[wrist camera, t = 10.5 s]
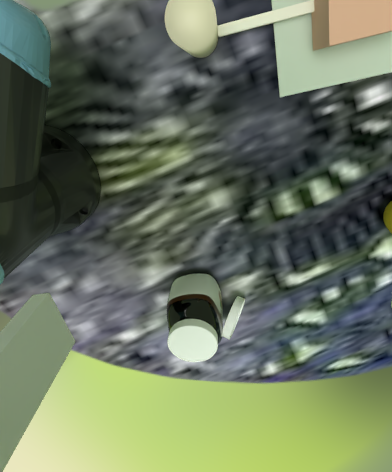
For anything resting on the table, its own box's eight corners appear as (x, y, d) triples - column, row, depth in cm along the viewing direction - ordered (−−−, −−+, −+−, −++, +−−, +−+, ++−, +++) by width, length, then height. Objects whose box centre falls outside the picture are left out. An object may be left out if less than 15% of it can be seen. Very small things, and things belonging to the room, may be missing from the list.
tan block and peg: (190, 80, 36) (177, 82, 26) (174, -1, 33) (151, -39, 22) (390, 31, 33) (471, 9, 22) (395, -66, 29) (495, -149, 18)
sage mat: (279, 97, 37) (279, 97, 37) (264, -79, 30) (264, -80, 30) (405, 68, 34) (406, 68, 34) (421, -129, 27) (422, -131, 27)
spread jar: (168, 270, 50) (154, 320, 40) (236, 258, 48) (240, 308, 37) (187, 324, 55) (179, 381, 45) (249, 316, 53) (256, 373, 43)
